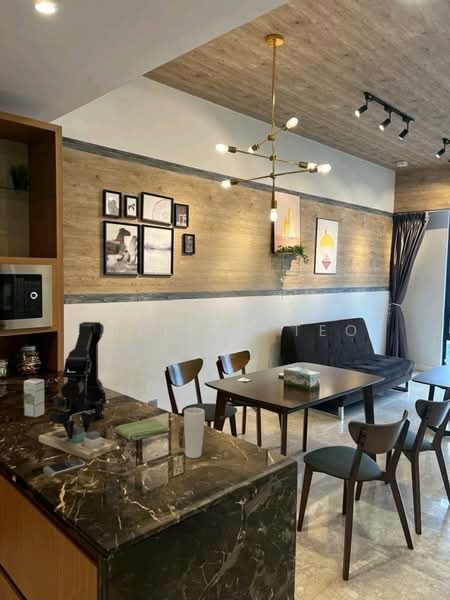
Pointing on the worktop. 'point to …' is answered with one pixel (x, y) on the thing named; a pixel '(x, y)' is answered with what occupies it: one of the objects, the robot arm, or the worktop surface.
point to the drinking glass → (193, 431)
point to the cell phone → (63, 467)
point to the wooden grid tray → (75, 445)
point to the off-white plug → (92, 440)
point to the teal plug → (78, 435)
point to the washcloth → (141, 429)
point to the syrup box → (33, 397)
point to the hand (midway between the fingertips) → (77, 436)
